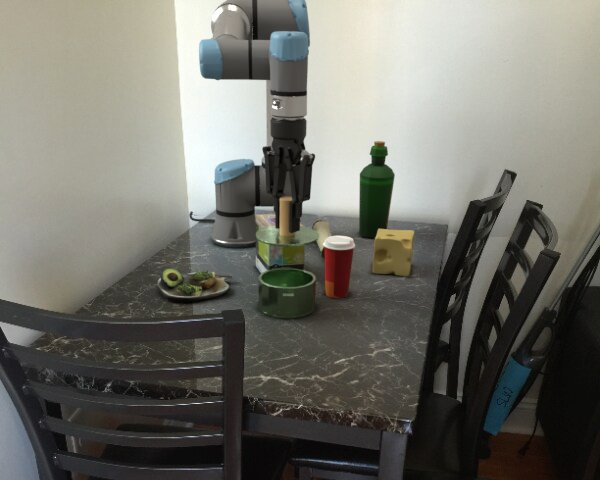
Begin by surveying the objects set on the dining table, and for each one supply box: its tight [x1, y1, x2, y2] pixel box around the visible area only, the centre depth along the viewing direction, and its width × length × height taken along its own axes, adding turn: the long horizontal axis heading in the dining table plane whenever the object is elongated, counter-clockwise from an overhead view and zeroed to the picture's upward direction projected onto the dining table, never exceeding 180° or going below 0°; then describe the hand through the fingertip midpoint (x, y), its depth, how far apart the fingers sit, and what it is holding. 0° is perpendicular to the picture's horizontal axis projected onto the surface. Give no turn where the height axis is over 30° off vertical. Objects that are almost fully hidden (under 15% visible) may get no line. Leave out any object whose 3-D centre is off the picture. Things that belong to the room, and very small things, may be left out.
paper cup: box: [323, 235, 356, 299], centre depth 160 cm, size 8×8×14 cm
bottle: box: [358, 140, 396, 239], centre depth 200 cm, size 11×11×28 cm
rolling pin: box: [311, 220, 332, 261], centre depth 194 cm, size 32×6×5 cm, turn 4°
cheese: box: [372, 228, 415, 277], centre depth 178 cm, size 10×11×10 cm
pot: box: [258, 267, 317, 320], centre depth 154 cm, size 13×19×8 cm
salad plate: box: [156, 267, 233, 303], centre depth 164 cm, size 19×18×5 cm
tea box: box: [255, 213, 306, 274], centre depth 171 cm, size 15×10×15 cm
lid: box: [256, 196, 319, 247], centre depth 145 cm, size 14×14×9 cm
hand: (287, 229), depth 146 cm, fingers closed on lid, 4 cm apart
